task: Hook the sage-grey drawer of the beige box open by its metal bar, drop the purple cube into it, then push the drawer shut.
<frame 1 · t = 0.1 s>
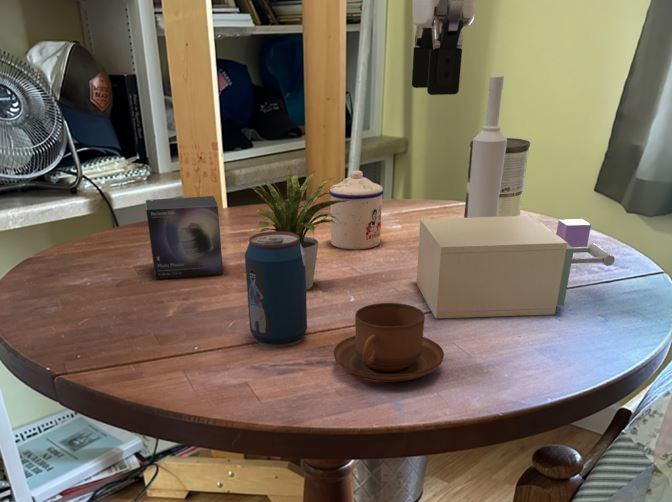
hand: (433, 90, 77), 26 cm above the table, tool pointing down, fingers open, 9 cm apart
small box: (188, 273, 110), on the table
drawer: (524, 263, 94), point 5 cm above the table, slide at 0.0 cm
beige box: (481, 298, 96), on the table
cup and saucer: (387, 369, 78), on the table
coffee can: (490, 225, 131), on the table
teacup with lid: (357, 242, 123), on the table
soda can: (279, 339, 86), on the table
purple cube: (570, 247, 117), on the table
bottle: (478, 247, 118), on the table
house plant: (292, 290, 102), on the table
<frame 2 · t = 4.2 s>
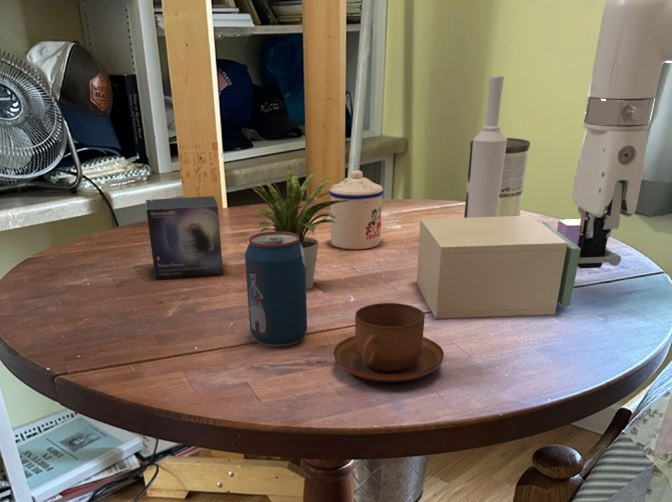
hand: (587, 266, 95), 4 cm above the table, tool pointing down, fingers closed
drawer: (530, 263, 94), point 5 cm above the table, slide at 0.9 cm
everything else where it was.
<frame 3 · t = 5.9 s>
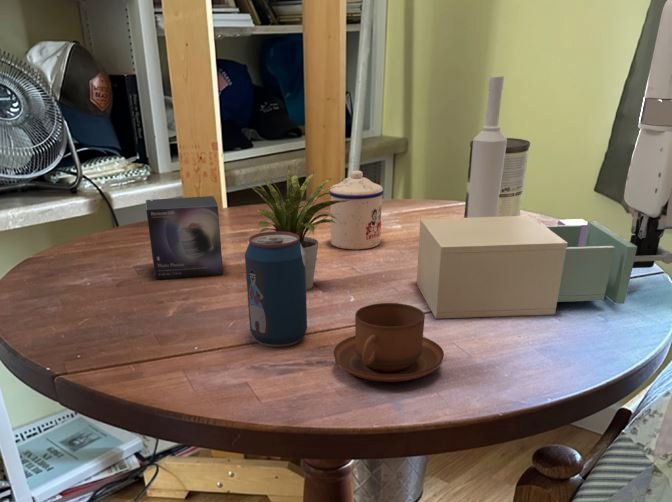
hand: (638, 265, 95), 4 cm above the table, tool pointing down, fingers closed
drawer: (583, 261, 94), point 5 cm above the table, slide at 7.9 cm, touching gripper
everything else where it was.
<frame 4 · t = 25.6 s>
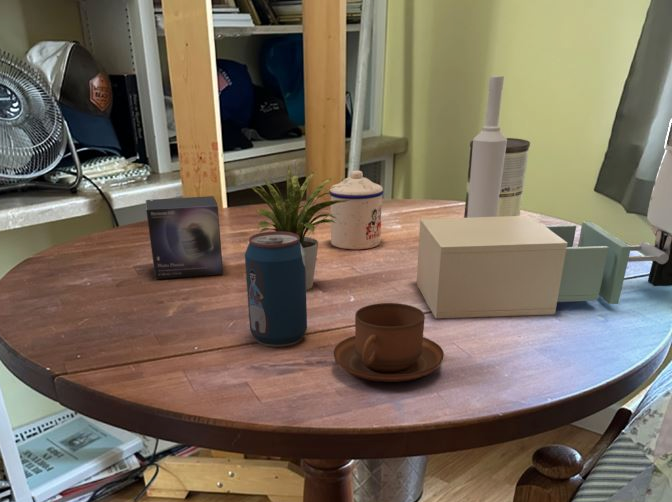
hand: (661, 284, 96), 1 cm above the table, tool pointing down, fingers closed
drawer: (577, 261, 94), point 5 cm above the table, slide at 7.2 cm, touching purple cube
purple cube: (565, 281, 96), point 2 cm above the table, touching drawer
everything else where it was.
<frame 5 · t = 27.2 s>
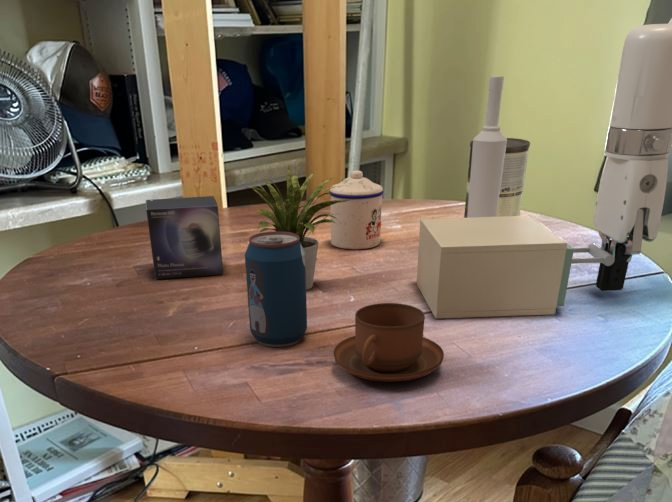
hand: (608, 288, 97), 1 cm above the table, tool pointing down, fingers closed
drawer: (524, 263, 94), point 5 cm above the table, slide at 0.0 cm, touching beige box, gripper, purple cube
purple cube: (513, 282, 95), point 2 cm above the table, touching drawer
everything else where it was.
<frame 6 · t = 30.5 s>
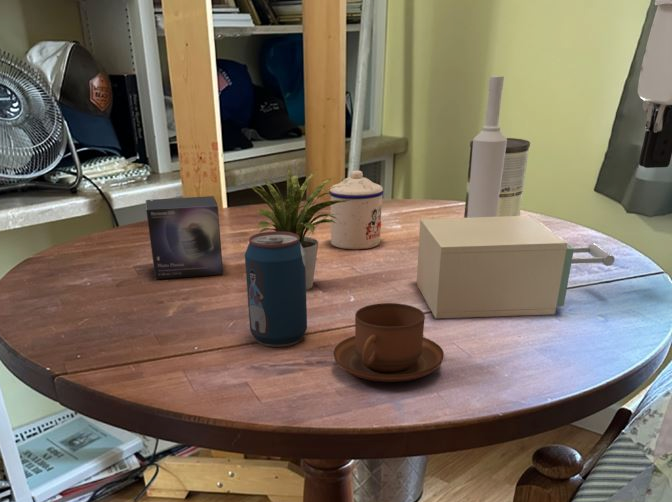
hand: (653, 166, 88), 16 cm above the table, tool pointing down, fingers closed
drawer: (524, 263, 94), point 5 cm above the table, slide at 0.0 cm, touching beige box, purple cube
everything else where it was.
at the end: drawer pulled out 10.0 cm at the most during the clip, back to where it started at the end; purple cube inside the target area in the beige box (3.7 cm from its centre), point 2.0 cm above the beige box's base; drawer slide at 0.0 cm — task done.
